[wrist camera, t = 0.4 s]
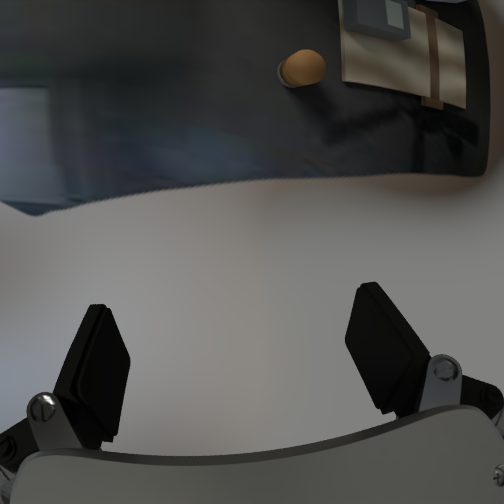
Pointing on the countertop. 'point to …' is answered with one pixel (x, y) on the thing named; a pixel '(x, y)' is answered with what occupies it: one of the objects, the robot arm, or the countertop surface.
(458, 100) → the board
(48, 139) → the countertop surface
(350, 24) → the block
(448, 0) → the plastic bottle
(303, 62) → the orange brown cylinder
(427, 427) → the robot arm
